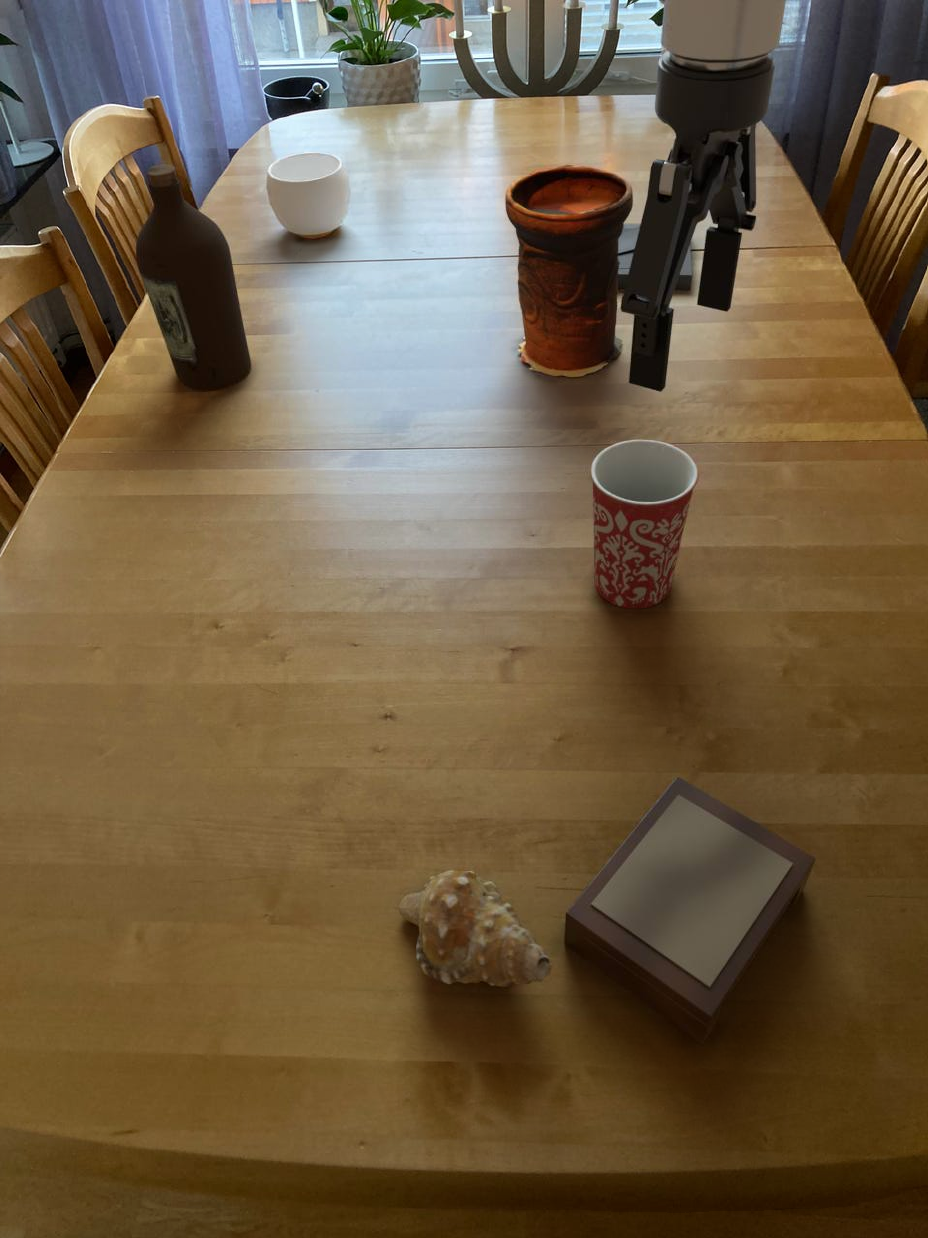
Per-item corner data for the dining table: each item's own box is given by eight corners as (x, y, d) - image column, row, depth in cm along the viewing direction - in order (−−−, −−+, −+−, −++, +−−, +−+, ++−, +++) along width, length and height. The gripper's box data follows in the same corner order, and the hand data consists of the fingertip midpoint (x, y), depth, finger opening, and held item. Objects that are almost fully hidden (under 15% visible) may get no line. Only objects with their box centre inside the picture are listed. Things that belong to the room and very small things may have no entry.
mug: (661, 629, 88) (676, 514, 78) (569, 599, 91) (573, 485, 81) (706, 545, 95) (726, 431, 86) (620, 520, 99) (630, 408, 89)
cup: (274, 219, 154) (261, 156, 147) (350, 209, 155) (342, 146, 148) (277, 253, 145) (264, 188, 138) (359, 242, 146) (350, 177, 139)
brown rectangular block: (803, 890, 69) (817, 856, 66) (702, 1045, 62) (711, 1016, 59) (671, 809, 75) (677, 773, 71) (563, 943, 68) (565, 911, 64)
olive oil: (223, 340, 128) (172, 143, 110) (273, 367, 123) (229, 164, 105) (156, 375, 123) (91, 173, 105) (205, 404, 118) (146, 197, 100)
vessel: (491, 335, 125) (485, 177, 111) (590, 310, 129) (597, 153, 114) (536, 390, 116) (536, 226, 102) (642, 362, 119) (657, 198, 105)
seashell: (528, 917, 72) (583, 902, 64) (481, 1021, 69) (533, 1020, 60) (424, 853, 72) (465, 829, 63) (370, 954, 68) (406, 944, 59)
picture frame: (687, 237, 142) (545, 236, 144) (689, 218, 140) (546, 217, 142) (690, 289, 131) (537, 287, 134) (692, 269, 129) (537, 267, 132)
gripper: (732, -4, 72) (697, 269, 87) (578, 106, 57) (569, 409, 73) (833, 5, 69) (779, 286, 84) (697, 124, 55) (662, 436, 70)
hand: (681, 344), depth 78 cm, fingers open, 13 cm apart
